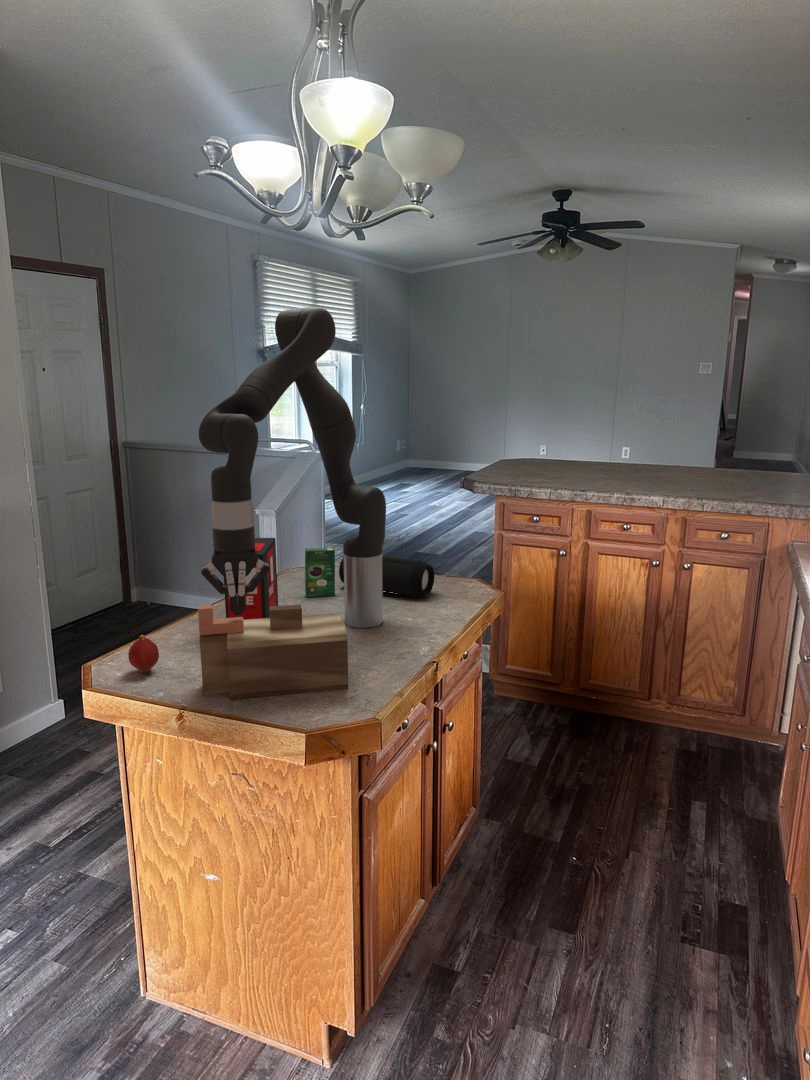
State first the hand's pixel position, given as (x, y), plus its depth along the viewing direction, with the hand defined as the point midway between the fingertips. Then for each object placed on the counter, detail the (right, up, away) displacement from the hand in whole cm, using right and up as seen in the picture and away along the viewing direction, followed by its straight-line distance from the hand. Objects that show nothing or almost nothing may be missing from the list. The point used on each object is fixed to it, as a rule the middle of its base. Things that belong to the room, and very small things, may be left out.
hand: (238, 613), depth 138 cm
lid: (+9, -5, +3) cm, 11 cm away
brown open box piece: (+6, -14, +5) cm, 16 cm away
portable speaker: (+26, -1, +64) cm, 69 cm away
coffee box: (+9, -1, +60) cm, 61 cm away
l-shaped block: (-3, -3, 0) cm, 4 cm away
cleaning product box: (-4, -7, +36) cm, 36 cm away
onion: (-21, -13, +10) cm, 27 cm away
